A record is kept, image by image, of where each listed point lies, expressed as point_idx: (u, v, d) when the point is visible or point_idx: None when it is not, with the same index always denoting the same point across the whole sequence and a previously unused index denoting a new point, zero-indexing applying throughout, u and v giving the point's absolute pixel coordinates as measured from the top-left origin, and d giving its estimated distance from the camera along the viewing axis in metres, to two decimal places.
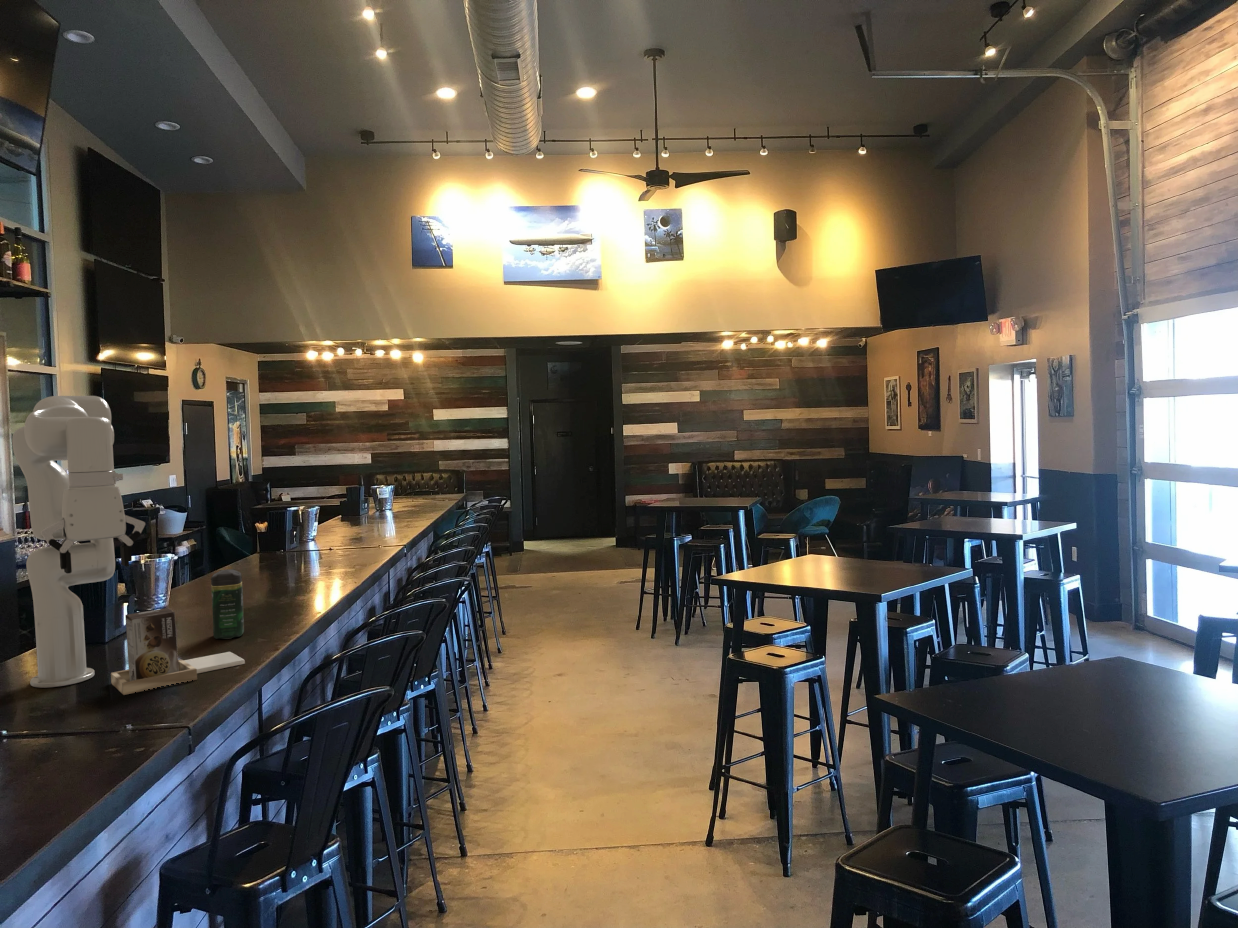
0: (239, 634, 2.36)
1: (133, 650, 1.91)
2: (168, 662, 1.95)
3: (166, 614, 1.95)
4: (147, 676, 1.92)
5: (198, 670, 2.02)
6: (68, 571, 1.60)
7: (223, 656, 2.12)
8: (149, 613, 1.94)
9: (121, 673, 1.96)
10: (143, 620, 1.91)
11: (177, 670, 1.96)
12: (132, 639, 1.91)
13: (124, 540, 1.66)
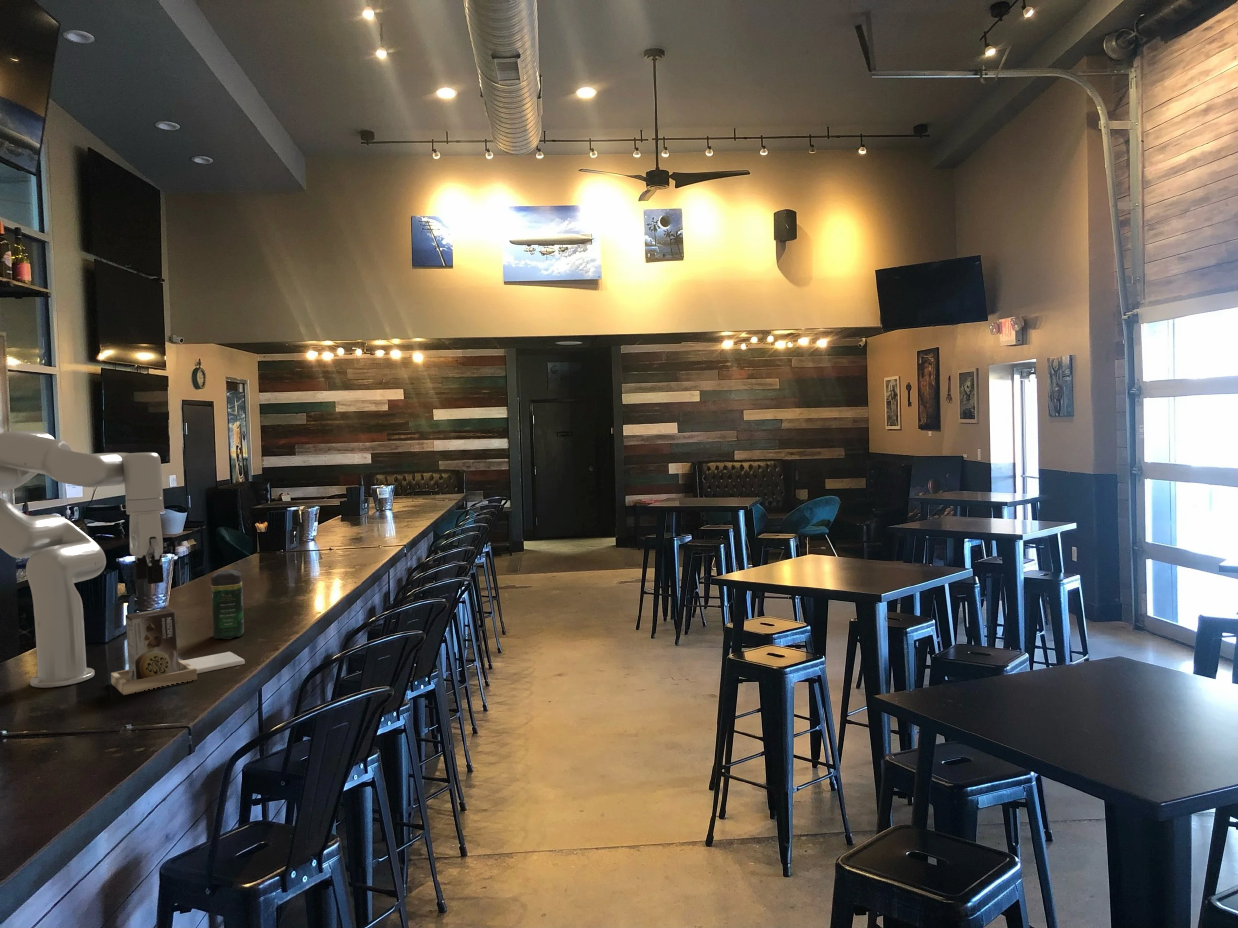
0: (239, 634, 2.36)
1: (133, 650, 1.91)
2: (168, 662, 1.95)
3: (166, 614, 1.95)
4: (147, 676, 1.92)
5: (198, 670, 2.02)
6: None
7: (223, 656, 2.12)
8: (149, 613, 1.95)
9: (121, 673, 1.96)
10: (143, 620, 1.91)
11: (177, 670, 1.96)
12: (132, 639, 1.91)
13: None
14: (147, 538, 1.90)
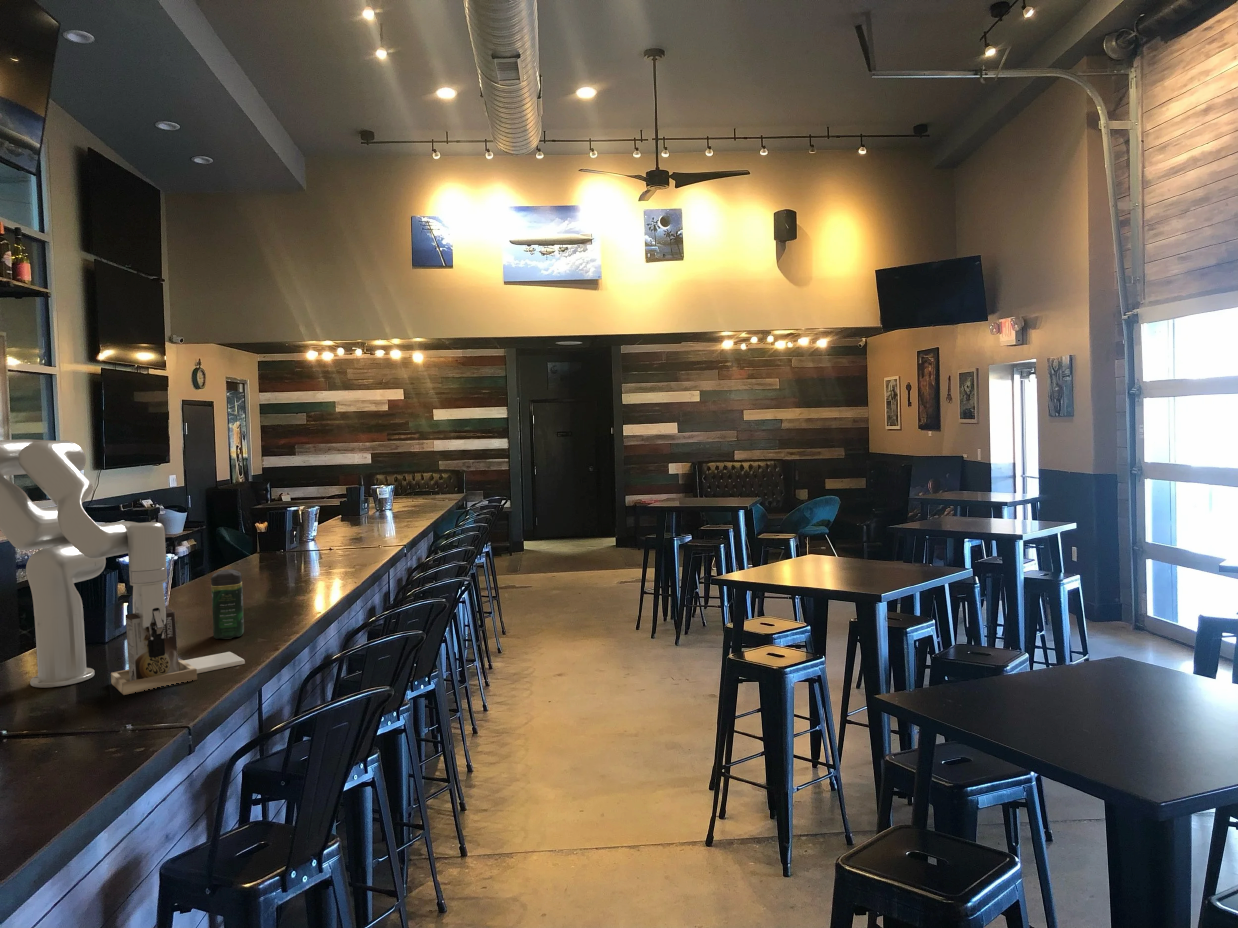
0: (239, 634, 2.36)
1: (133, 650, 1.91)
2: (168, 662, 1.95)
3: (166, 614, 1.95)
4: (147, 676, 1.92)
5: (198, 670, 2.02)
6: None
7: (223, 656, 2.12)
8: None
9: (121, 673, 1.96)
10: None
11: (177, 670, 1.96)
12: (132, 639, 1.91)
13: None
14: (150, 609, 1.91)
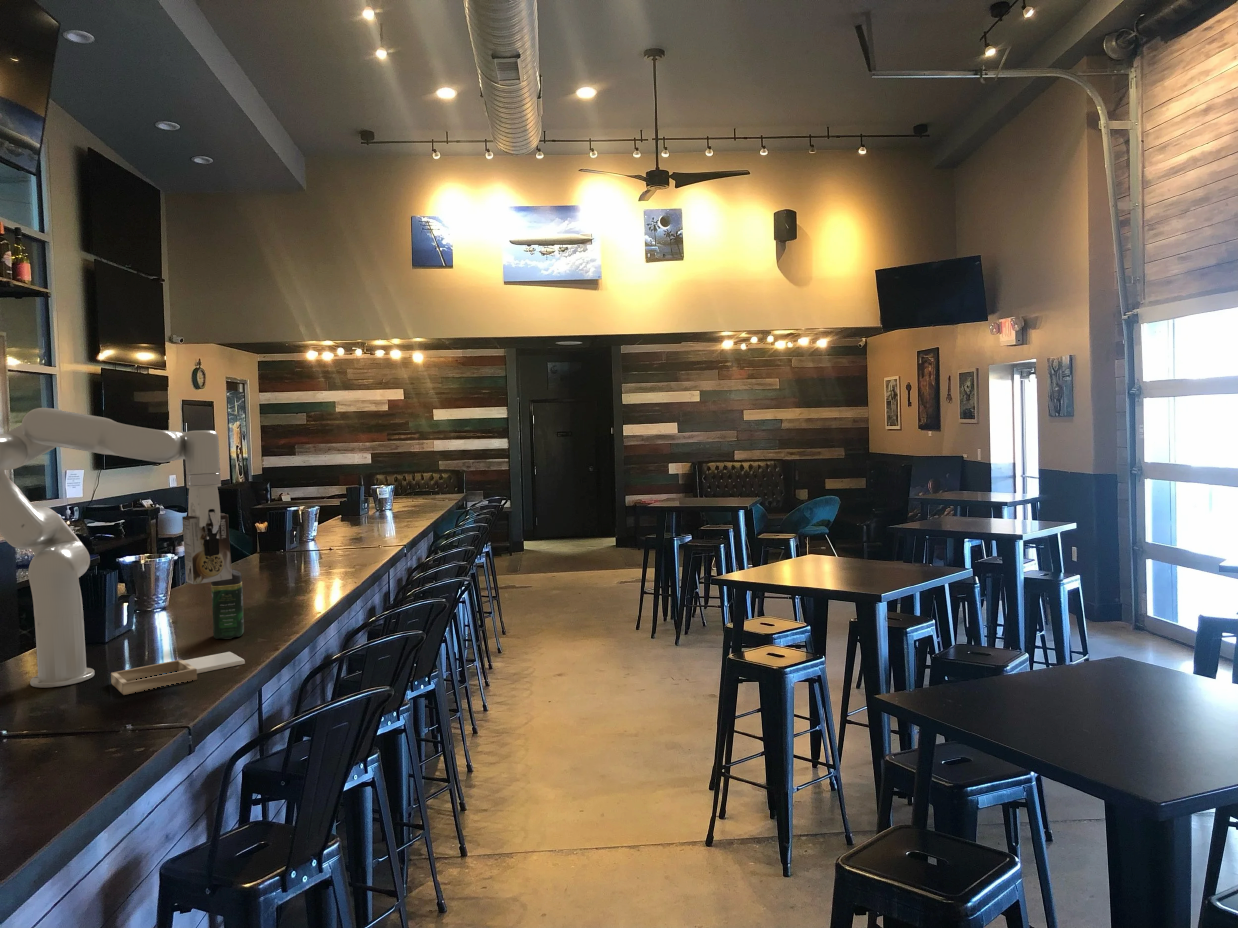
0: (239, 634, 2.36)
1: (190, 548, 2.03)
2: (222, 561, 2.07)
3: (220, 516, 2.07)
4: (203, 573, 2.04)
5: (198, 670, 2.02)
6: None
7: (223, 656, 2.12)
8: None
9: (121, 673, 1.96)
10: None
11: (230, 570, 2.09)
12: (189, 538, 2.03)
13: None
14: (206, 510, 2.03)
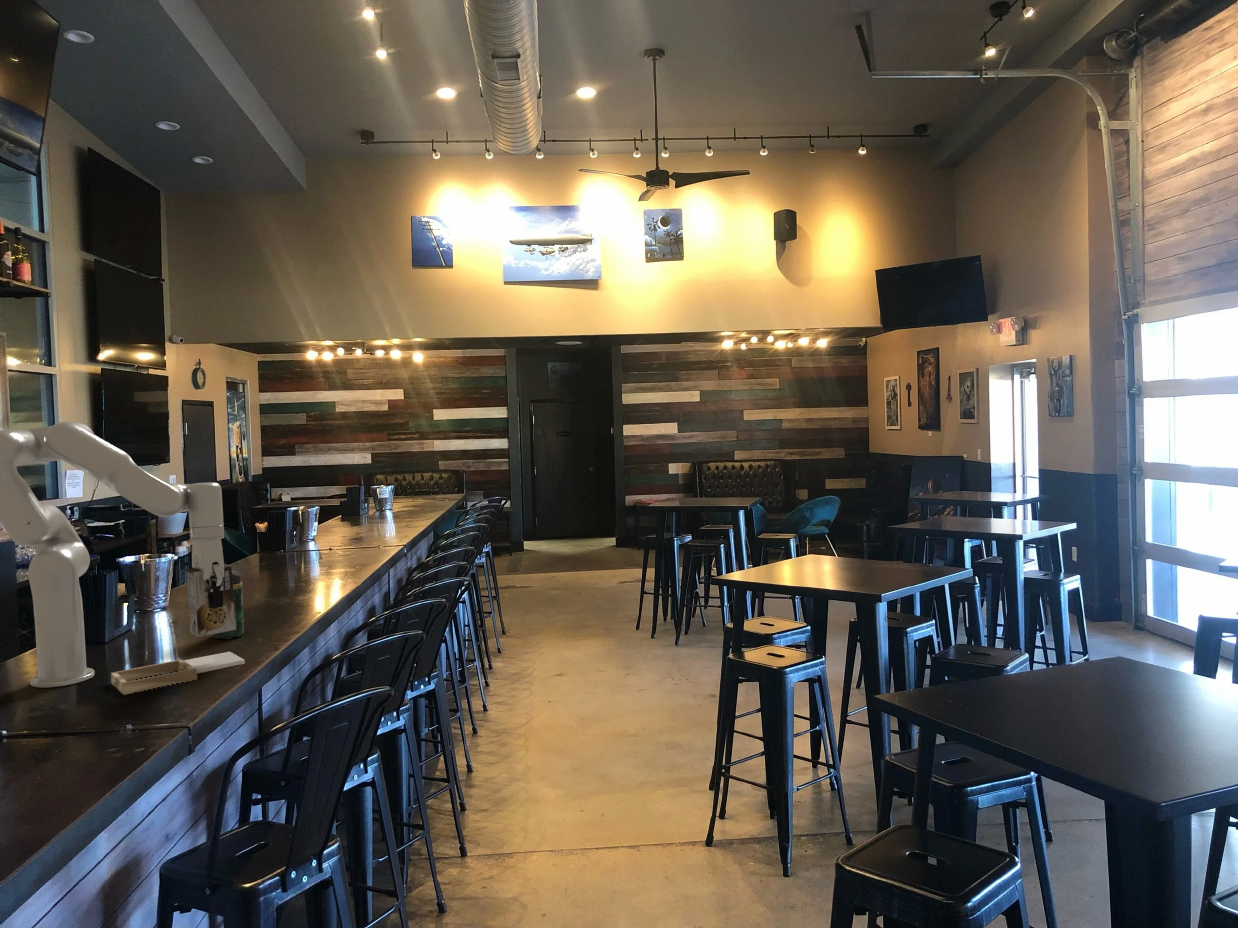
0: (239, 634, 2.36)
1: (194, 601, 2.04)
2: (226, 613, 2.08)
3: (224, 568, 2.08)
4: (207, 625, 2.05)
5: (198, 670, 2.02)
6: None
7: (223, 656, 2.12)
8: None
9: (121, 673, 1.96)
10: None
11: (234, 621, 2.09)
12: (193, 591, 2.04)
13: None
14: (210, 563, 2.04)
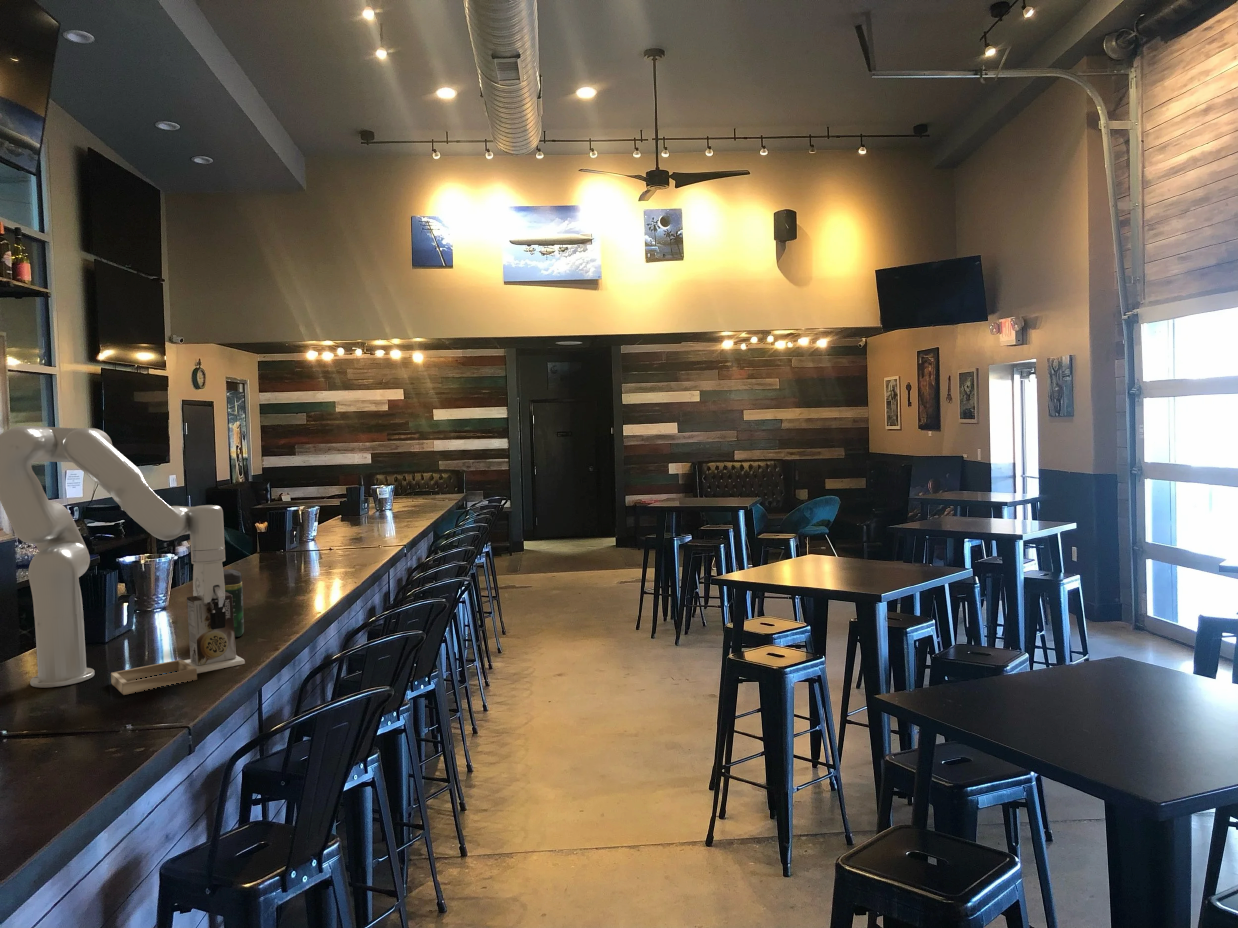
0: (239, 634, 2.36)
1: (195, 630, 2.04)
2: (226, 641, 2.08)
3: (225, 597, 2.08)
4: (207, 654, 2.05)
5: (198, 670, 2.02)
6: None
7: None
8: None
9: (121, 673, 1.96)
10: None
11: (234, 649, 2.10)
12: (194, 619, 2.04)
13: None
14: (211, 586, 2.04)
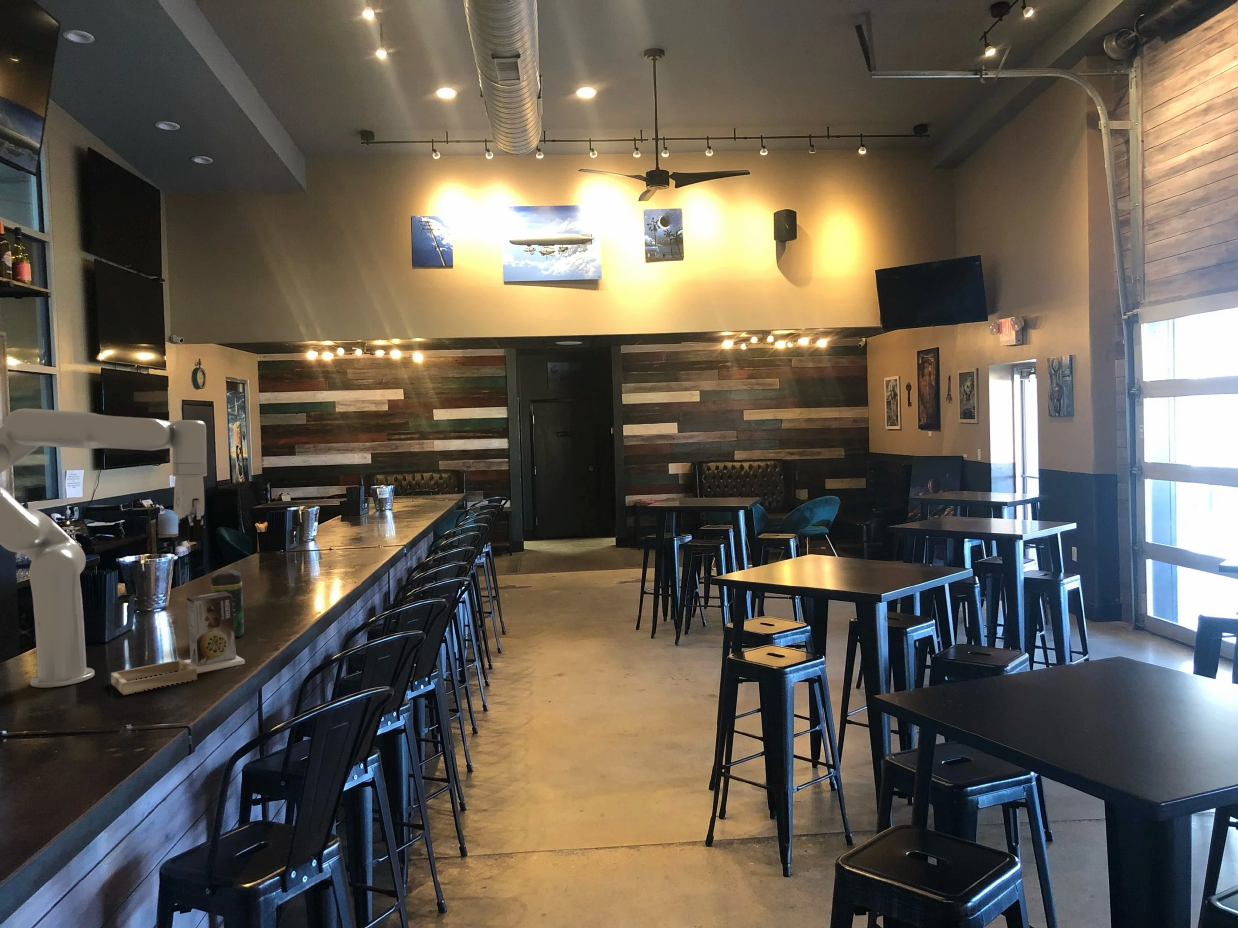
0: (239, 634, 2.36)
1: (195, 630, 2.04)
2: (226, 642, 2.08)
3: (224, 597, 2.08)
4: (207, 654, 2.05)
5: (198, 670, 2.02)
6: None
7: None
8: (208, 596, 2.08)
9: (121, 673, 1.96)
10: (204, 602, 2.05)
11: (234, 649, 2.10)
12: (194, 620, 2.04)
13: None
14: (190, 499, 2.04)
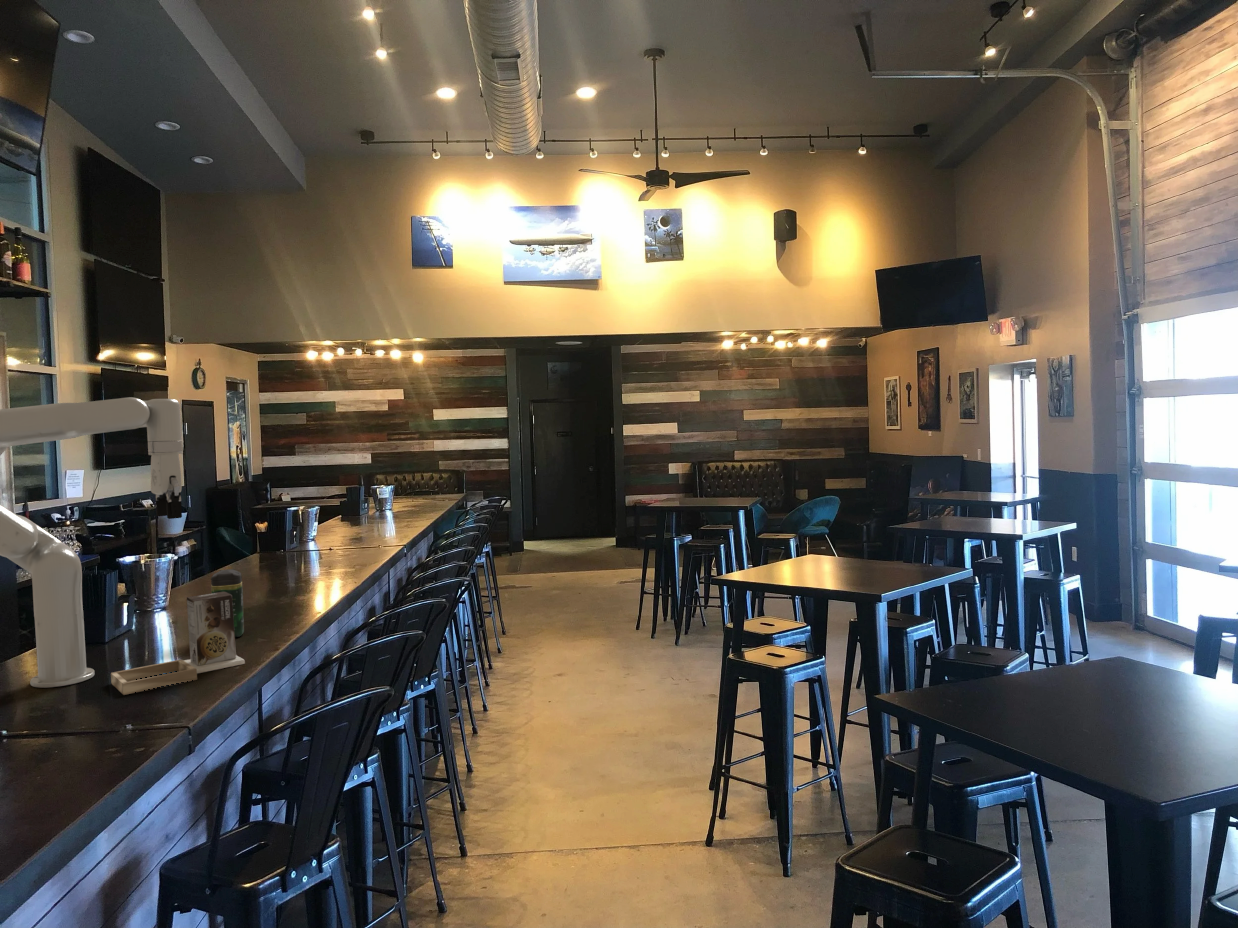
0: (239, 634, 2.36)
1: (195, 630, 2.04)
2: (226, 642, 2.08)
3: (224, 597, 2.08)
4: (207, 654, 2.05)
5: (198, 670, 2.02)
6: None
7: None
8: (208, 596, 2.08)
9: (121, 673, 1.96)
10: (204, 602, 2.05)
11: (234, 649, 2.10)
12: (194, 620, 2.04)
13: None
14: (167, 476, 2.07)
